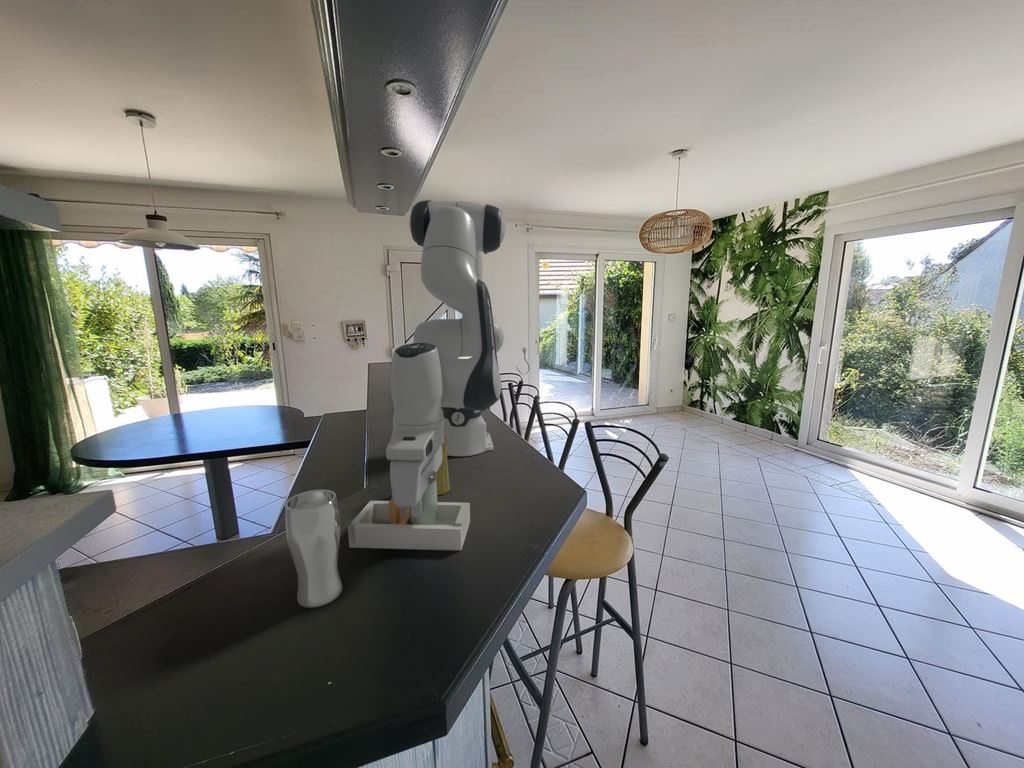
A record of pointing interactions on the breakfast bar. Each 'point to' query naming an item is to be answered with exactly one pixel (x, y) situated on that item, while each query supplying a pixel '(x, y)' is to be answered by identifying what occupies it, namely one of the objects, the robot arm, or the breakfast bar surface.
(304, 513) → the beer glass
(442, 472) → the vase
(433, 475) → the jar
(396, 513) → the pusher
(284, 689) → the breakfast bar surface
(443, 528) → the white tray
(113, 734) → the breakfast bar surface
